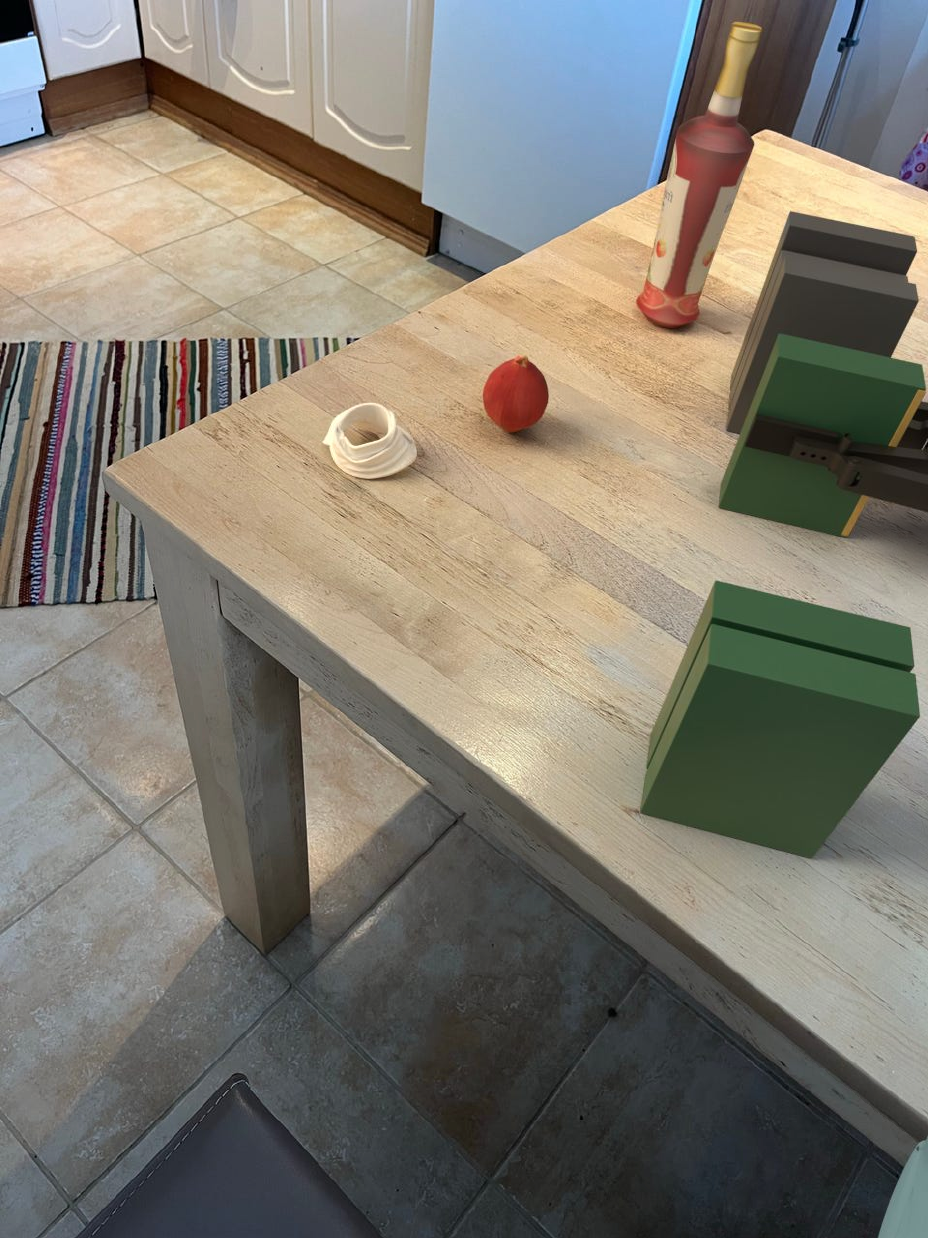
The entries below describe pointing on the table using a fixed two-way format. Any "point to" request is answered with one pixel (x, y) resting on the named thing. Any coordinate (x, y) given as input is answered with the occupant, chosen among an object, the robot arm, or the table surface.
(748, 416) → the green book
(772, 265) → the grey books
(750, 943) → the table surface
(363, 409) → the white cowl scarf
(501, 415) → the onion
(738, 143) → the liquor
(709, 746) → the green books
